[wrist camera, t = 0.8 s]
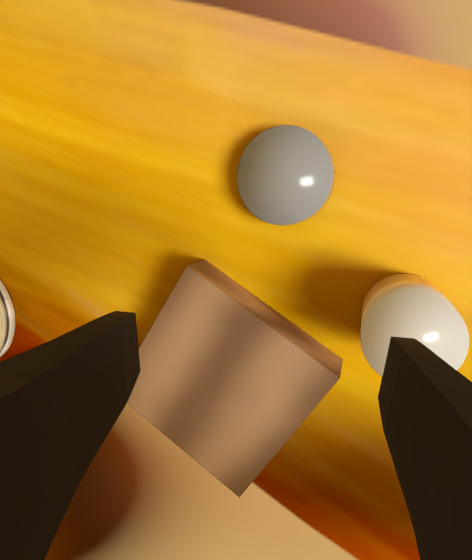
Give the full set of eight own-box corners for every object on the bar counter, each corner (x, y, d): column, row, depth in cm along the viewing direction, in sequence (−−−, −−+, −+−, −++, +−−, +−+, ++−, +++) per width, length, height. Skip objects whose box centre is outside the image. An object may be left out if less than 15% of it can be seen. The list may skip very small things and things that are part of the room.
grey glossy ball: (354, 161, 24) (353, 158, 22) (300, 241, 26) (295, 243, 24) (275, 112, 25) (269, 106, 23) (229, 192, 27) (220, 192, 25)
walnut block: (342, 359, 26) (339, 378, 23) (251, 470, 30) (239, 497, 27) (204, 259, 28) (186, 265, 25) (135, 375, 32) (113, 392, 29)
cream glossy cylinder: (466, 304, 23) (493, 333, 18) (411, 364, 25) (422, 405, 20) (394, 257, 24) (401, 272, 19) (346, 318, 26) (341, 346, 21)
